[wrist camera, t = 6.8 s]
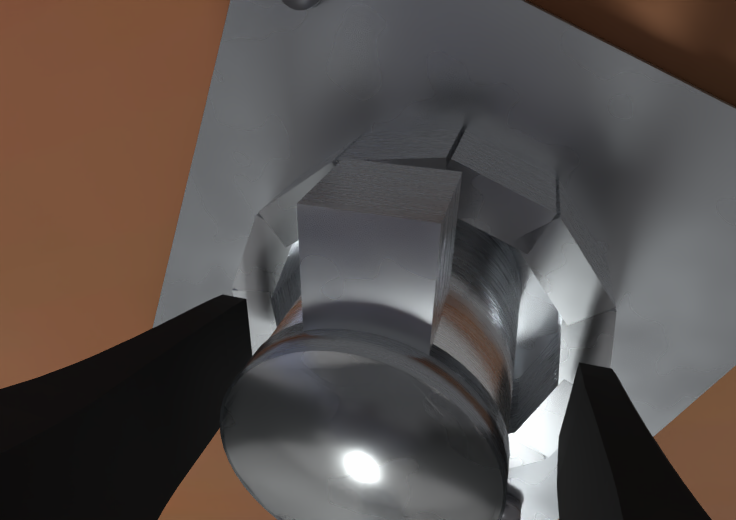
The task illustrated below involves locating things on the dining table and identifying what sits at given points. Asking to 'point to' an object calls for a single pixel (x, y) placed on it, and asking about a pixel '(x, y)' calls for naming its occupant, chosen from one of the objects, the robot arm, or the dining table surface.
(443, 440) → the cylinder with square knob
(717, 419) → the dining table surface
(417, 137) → the duct flange
